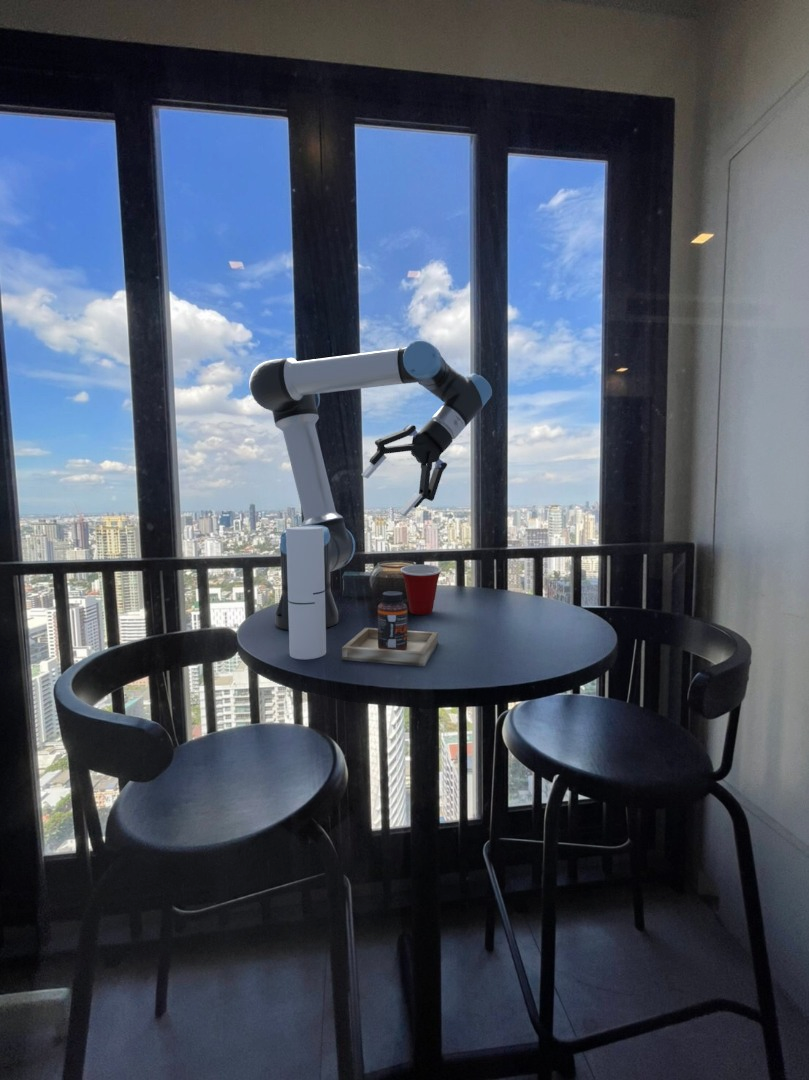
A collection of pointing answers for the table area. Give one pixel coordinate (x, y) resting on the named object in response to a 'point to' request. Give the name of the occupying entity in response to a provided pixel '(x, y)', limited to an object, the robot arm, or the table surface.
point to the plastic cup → (421, 587)
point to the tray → (368, 651)
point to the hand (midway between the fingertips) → (383, 496)
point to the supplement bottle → (392, 622)
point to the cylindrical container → (306, 592)
